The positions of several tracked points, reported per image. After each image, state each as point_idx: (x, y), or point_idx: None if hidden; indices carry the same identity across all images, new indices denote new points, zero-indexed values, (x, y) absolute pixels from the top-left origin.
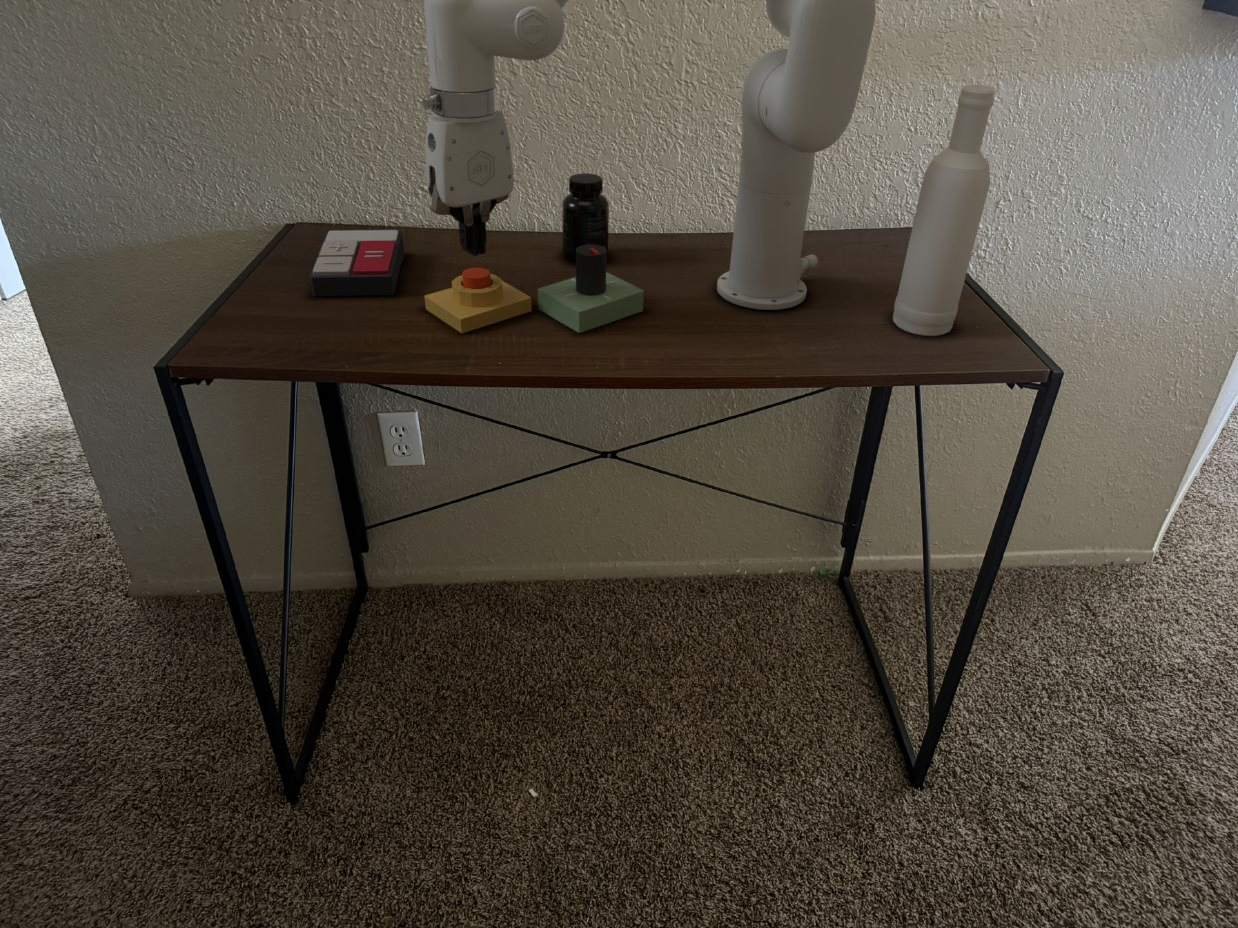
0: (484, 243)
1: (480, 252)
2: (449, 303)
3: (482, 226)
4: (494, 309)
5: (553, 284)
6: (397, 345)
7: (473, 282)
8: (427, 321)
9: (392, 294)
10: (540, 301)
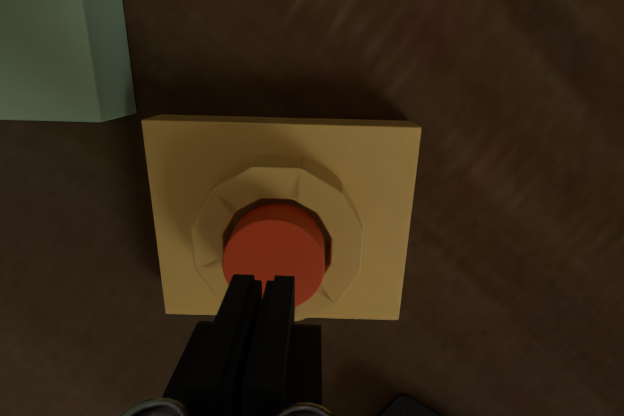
0: (228, 300)
1: (260, 280)
2: (376, 240)
3: (208, 374)
4: (291, 123)
5: (31, 115)
6: (578, 172)
7: (311, 228)
8: (429, 240)
9: (405, 396)
10: (120, 101)
